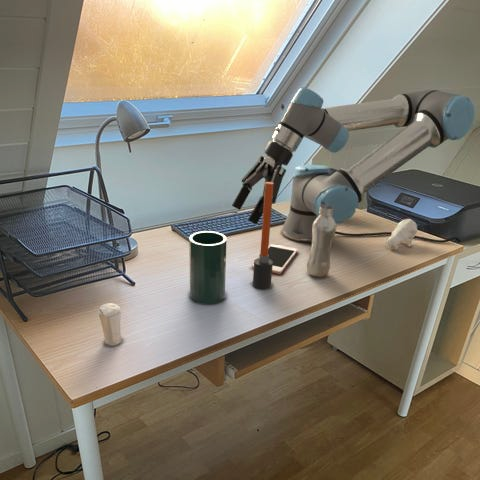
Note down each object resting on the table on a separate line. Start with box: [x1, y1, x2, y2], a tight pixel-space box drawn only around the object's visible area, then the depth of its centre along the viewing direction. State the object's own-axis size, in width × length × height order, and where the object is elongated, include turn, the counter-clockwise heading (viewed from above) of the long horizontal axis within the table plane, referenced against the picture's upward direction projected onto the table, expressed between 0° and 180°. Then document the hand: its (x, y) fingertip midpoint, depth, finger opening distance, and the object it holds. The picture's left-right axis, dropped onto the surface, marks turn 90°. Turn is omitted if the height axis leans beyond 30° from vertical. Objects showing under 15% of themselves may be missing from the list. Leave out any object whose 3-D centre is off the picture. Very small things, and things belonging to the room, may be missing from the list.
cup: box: [188, 230, 227, 305], centre depth 120 cm, size 9×9×16 cm
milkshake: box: [97, 302, 122, 347], centre depth 102 cm, size 5×5×10 cm
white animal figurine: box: [386, 218, 418, 250], centre depth 156 cm, size 6×8×12 cm
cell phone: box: [251, 243, 298, 275], centre depth 144 cm, size 9×18×1 cm, turn 158°
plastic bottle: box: [306, 205, 337, 278], centre depth 132 cm, size 6×7×20 cm
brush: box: [252, 182, 274, 290], centre depth 123 cm, size 5×5×28 cm
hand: (243, 214), depth 136 cm, fingers open, 13 cm apart
